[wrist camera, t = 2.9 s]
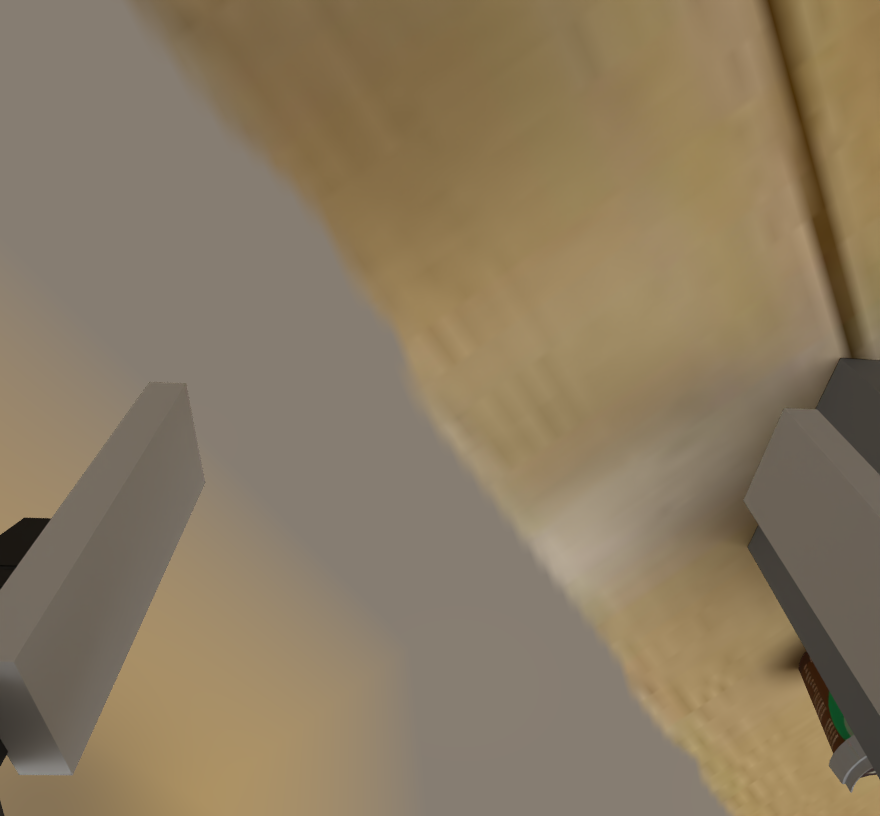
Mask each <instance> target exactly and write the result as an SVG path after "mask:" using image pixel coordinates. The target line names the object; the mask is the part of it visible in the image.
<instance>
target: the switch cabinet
mask: <svg viewBox="0 0 880 816" xmlns="http://www.w3.org/2000/svg"><path fill="white" fill-rule="evenodd" d="M816 409H817V410H818V411H819V412H820V413H821V414H822V415H823V416H824V417H825V418H826V419H827V420H828V421H829V422H830V423H831V424H832V425H833V426H834V428H835V429H836V430H837V431H838V432H839V433H840V434H841V435H842V436H843V437H844V438H845V439H846V440H847V441H848V442H849V443H850V444H851V445H852V446H853V447H854V449H855V450H856V451H857V452H858V453H859V454H860V455H861V456H862V457H863V458H864V459H865V460H866V461H867V462H868V463H869V464H870V465H871V466H872V467H873V468H874V469H875V471H876V472H877V473H878V474H879V475H880V361H878V360H861V359H845V358H840V360H839V362H838V364H837V367H836V369H835V371H834V373H833V375H832V377H831V379H830V381H829V383H828V385H827V387H826V389H825V391H824V393H823V395H822V397H821V399H820V401H819V403H818V405H817V407H816ZM748 549H749V551H750V552H751V554H752V556H753V558H754V559H755V561H756V563H757V565H758V566H759V568H760V570H761V572H762V573H763V575H764V577H765V579H766V580H767V582H768V584H769V586H770V587H771V589H772V591H773V593H774V594H775V596H776V598H777V600H778V602H779V603H780V605H781V607H782V609H783V610H784V612H785V614H786V616H787V617H788V619H789V621H790V623H791V624H792V626H793V628H794V630H795V631H796V633H797V635H798V637H799V638H800V640H801V642H802V644H803V645H804V647H805V649H806V651H807V652H808V654H809V656H810V658H811V660H812V661H813V663H814V665H815V667H816V668H817V670H818V672H819V674H820V675H821V677H822V679H823V681H824V682H825V684H826V686H827V688H828V689H829V691H830V693H831V695H832V696H833V698H834V700H835V702H836V703H837V705H838V707H839V709H840V710H841V712H842V714H843V716H844V718H845V719H846V721H847V723H848V725H849V726H850V728H851V730H852V732H853V733H854V735H855V737H856V739H857V740H858V742H859V744H860V746H861V747H862V749H863V751H864V753H865V754H866V756H867V758H868V760H869V761H870V763H871V765H872V767H873V768H874V770H875V772H876V774H877V776H878V777H879V779H880V715H879V714H878V712H877V711H876V709H875V708H874V706H873V704H872V703H871V701H870V700H869V698H868V697H867V695H866V693H865V692H864V690H863V689H862V687H861V685H860V684H859V682H858V681H857V679H856V678H855V676H854V674H853V673H852V671H851V670H850V668H849V667H848V665H847V663H846V662H845V660H844V659H843V657H842V656H841V654H840V652H839V651H838V649H837V648H836V646H835V644H834V643H833V641H832V640H831V638H830V637H829V635H828V633H827V632H826V630H825V629H824V627H823V626H822V624H821V622H820V621H819V619H818V618H817V616H816V614H815V613H814V611H813V610H812V608H811V607H810V605H809V603H808V602H807V600H806V599H805V597H804V596H803V594H802V592H801V591H800V589H799V588H798V586H797V584H796V583H795V581H794V580H793V578H792V577H791V575H790V573H789V572H788V570H787V569H786V567H785V566H784V564H783V562H782V561H781V559H780V558H779V556H778V555H777V553H776V551H775V550H774V548H773V547H772V545H771V543H770V542H769V540H768V539H767V537H766V536H765V534H764V532H763V531H762V529H761V528H760V526H759V525H758V527H757V529H756V531H755V533H754V535H753V537H752V539H751V541H750V543H749V545H748Z"/></svg>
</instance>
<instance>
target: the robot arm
mask: <svg viewBox="0 0 880 816" xmlns="http://www.w3.org/2000/svg"><path fill="white" fill-rule="evenodd" d="M204 484H205V480H204V474H203V469H202V464H201V458H200V454H199V448H198V443H197V438H196V432H195V427H194V422H193V417H192V412H191V407H190V401H189V396H188V391H187V385H186V384H185V383H162V382H149V383H148V385H147V386H146V387H145V389H144V390H143V392H142V393H141V394H140V396H139V397H138V398H137V400H136V401H135V403H134V404H133V405H132V407H131V408H130V410H129V411H128V413H127V414H126V415H125V417H124V418H123V420H122V421H121V422H120V424H119V425H118V426H117V428H116V429H115V431H114V432H113V433H112V435H111V436H110V438H109V439H108V440H107V442H106V443H105V444H104V446H103V447H102V449H101V450H100V452H99V453H98V454H97V456H96V457H95V458H94V460H93V461H92V463H91V464H90V466H89V467H88V468H87V470H86V471H85V472H84V474H83V475H82V477H81V478H80V480H79V481H78V482H77V484H76V485H75V486H74V488H73V489H72V490H71V492H70V493H69V495H68V496H67V497H66V499H65V501H64V502H63V503H62V504H61V506H60V507H59V509H58V510H57V511H56V513H55V514H54V516H53V517H52V518H51V519H48V518H23V519H22V520H21V521H19V522H18V523H16V524H15V525H14V526H12V527H11V528H9V529H8V530H7V531H5V532H4V533H2V534H1V535H0V766H1V764H2V762H3V760H4V758H5V757H6V755H7V756H8V757H9V759H10V761H11V762H12V764H13V765H14V767H15V769H16V770H17V772H18V773H19V775H73V773H74V771H75V769H76V766H77V764H78V762H79V760H80V758H81V756H82V753H83V751H84V749H85V747H86V745H87V742H88V740H89V738H90V736H91V734H92V731H93V729H94V727H95V725H96V723H97V720H98V718H99V716H100V714H101V712H102V709H103V707H104V705H105V703H106V700H107V698H108V696H109V694H110V692H111V689H112V687H113V685H114V683H115V681H116V678H117V676H118V674H119V672H120V670H121V667H122V665H123V663H124V661H125V659H126V656H127V654H128V652H129V650H130V647H131V645H132V643H133V641H134V639H135V636H136V634H137V632H138V630H139V628H140V625H141V623H142V621H143V619H144V617H145V614H146V612H147V610H148V608H149V606H150V603H151V601H152V599H153V596H154V594H155V592H156V590H157V588H158V585H159V584H160V581H161V579H162V577H163V575H164V572H165V570H166V568H167V566H168V563H169V561H170V559H171V557H172V555H173V552H174V550H175V548H176V546H177V544H178V542H179V539H180V537H181V535H182V533H183V531H184V528H185V526H186V524H187V522H188V519H189V517H190V515H191V513H192V511H193V509H194V506H195V504H196V502H197V500H198V497H199V495H200V493H201V491H202V489H203V486H204ZM743 501H744V502H745V504H746V506H747V507H748V509H749V510H750V512H751V513H752V515H753V517H754V518H755V520H756V521H757V523H758V525H759V526H760V528H761V529H762V531H763V532H764V534H765V536H766V537H767V539H768V540H769V542H770V543H771V545H772V547H773V548H774V550H775V551H776V553H777V555H778V556H779V558H780V559H781V561H782V562H783V564H784V566H785V567H786V569H787V570H788V572H789V573H790V575H791V577H792V578H793V580H794V581H795V583H796V584H797V586H798V588H799V589H800V591H801V592H802V594H803V596H804V597H805V599H806V600H807V602H808V603H809V605H810V607H811V608H812V610H813V611H814V613H815V614H816V616H817V618H818V619H819V621H820V622H821V624H822V626H823V627H824V629H825V630H826V632H827V633H828V635H829V637H830V638H831V640H832V641H833V643H834V644H835V646H836V648H837V649H838V651H839V652H840V654H841V656H842V657H843V659H844V660H845V662H846V663H847V665H848V667H849V668H850V670H851V671H852V673H853V674H854V676H855V678H856V679H857V681H858V682H859V684H860V685H861V687H862V689H863V690H864V692H865V693H866V695H867V697H868V698H869V700H870V701H871V703H872V704H873V706H874V708H875V709H876V711H877V712H878V714H879V715H880V475H879V474H878V473H877V472H876V471H875V469H874V468H873V467H872V466H871V465H870V464H869V463H868V462H867V461H866V460H865V459H864V458H863V457H862V456H861V455H860V454H859V453H858V452H857V451H856V450H855V449H854V447H853V446H852V445H851V444H850V443H849V442H848V441H847V440H846V439H845V438H844V437H843V436H842V435H841V434H840V433H839V432H838V431H837V430H836V429H835V428H834V426H833V425H832V424H831V423H830V422H829V421H828V420H827V419H826V418H825V417H824V416H823V415H822V414H821V413H820V412H819V411H818V410H817V409H795V408H784V409H783V412H782V414H781V416H780V418H779V421H778V423H777V425H776V428H775V430H774V432H773V434H772V437H771V439H770V441H769V444H768V446H767V448H766V450H765V453H764V455H763V457H762V459H761V462H760V464H759V466H758V469H757V471H756V473H755V475H754V478H753V480H752V482H751V484H750V487H749V489H748V491H747V494H746V496H745V498H744V500H743ZM0 816H4V813H3V809H2V806H1V802H0Z"/></svg>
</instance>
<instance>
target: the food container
mask: <svg viewBox="0 0 880 816" xmlns="http://www.w3.org/2000/svg"><path fill="white" fill-rule="evenodd" d="M799 671H800V673H801V676H802V678H803V681H804V683H805V686H806V688H807V691H808V693H809V695H810V698H811V700H812V703H813V705H814V708H815V710H816V712H817V715H818V717H819V720H820V722H821V725H822V727H823V729H824V732H825V734H826V737H827V739H828V742H829V744H830V746H831V749H832V751H833V755H832V757H831V759H830V763H829V767H830V768H831V769H832V771H833V772H834V773H835V775H836V776H837V777H838V779H839V780H840V782H841V783H842V784H846V785H847V787H848V789H849V790H850V792H851V793H852V791H853V787H854V785H855V784H856V782H857V781H858V779H859V778H861V777H865V776H869V775H877V774H876V772H875V770H874V768H873V767H872V765H871V763H870V761H869V760H868V758H867V756H866V754H865V753H864V751H863V749H862V747H861V746H860V744H859V742H858V740H857V739H856V737H855V735H854V733H853V732H852V730H851V728H850V726H849V725H848V723H847V721H846V719H845V718H844V716H843V714H842V712H841V710H840V709H839V707H838V705H837V703H836V702H835V700H834V698H833V696H832V695H831V693H830V691H829V689H828V688H827V686H826V684H825V682H824V681H823V679H822V677H821V675H820V674H819V672H818V670H817V668H816V667H815V665H814V663H813V661H812V660H811V658H810V656H809V654H808V652H807V651H806V652H805V653H804V655H803V656H802V658H801V661H800V663H799Z"/></svg>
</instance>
